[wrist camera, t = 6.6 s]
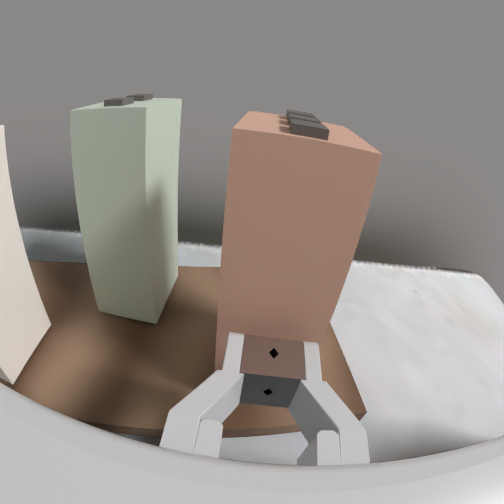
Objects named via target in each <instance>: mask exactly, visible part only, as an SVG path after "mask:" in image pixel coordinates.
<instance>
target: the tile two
mask: <svg viewBox="0 0 504 504" xmlns="http://www.w3.org/2000/svg"><path fill="white" fill-rule="evenodd" d="M152 97H153V94H136V95H129V96H127V98H113V99H108V100H104V102H103V103H99V104H94V105H90V106H86V107H82V108H78V109H74V110H71V111H70V125H71V147H72V163H73V174H74V184H75V193H76V201H77V209H78V216H79V222H80V228H81V234H82V240H83V245H84V251H85V256H86V261H87V265H88V270H89V274H90V279H91V283H92V287H93V291H94V295H95V299H96V303H97V307H98V310H99V311H100V312H104V313H109V314H113V315H117V316H121V317H126V318H130V319H135V320H140V321H144V322H149V323H154V324H157V322H158V320H159V317H160V315H161V313H162V310H163V308H164V306H165V303H166V301H167V299H168V297H169V294H170V292H171V290H172V288H173V285H174V283H175V281H176V279H177V277H178V240H177V203H178V201H177V200H178V160H179V137H180V120H181V119H180V118H181V104H182V99H170V98H152Z"/></svg>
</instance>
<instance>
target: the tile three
mask: <svg viewBox="0 0 504 504" xmlns="http://www.w3.org/2000/svg"><path fill="white" fill-rule="evenodd" d="M381 158H382V154H381V153H380V152H378V151H377V150H376V149H375V148H373V147H372V146H371V145H369V144H368V143H366V142H365V141H364V140H363V139H361V138H360V137H358V136H357V135H356V134H354V133H353V132H351V131H350V130H349V129H347V128H346V127H343V126H339V125H334V124H329V123H324V122H321V121H319V120H318V119H317V118H315V116H314V115H313V114H311V113H305V112H299V111H292V110H287V114H286V116H283V115H277V114H269V113H262V112H254V111H249V112H248V113H247V114H246V115H245V116H244V117H243V118H242V119H241V120H240V121H239V122H238V123H237V124H236V125H235V126H234V127H233V130H232V140H231V150H230V161H229V171H228V182H227V193H226V204H225V217H224V230H223V241H222V255H221V269H220V284H219V299H218V316H217V333H216V353H215V371H216V370H222V366H223V361H224V355H225V350H226V345H227V339H228V335H229V332H234V333H240V334H244V336H245V334H248V335H254V336H260V337H267V338H277V339H286V340H297V341H302V342H303V341H306V342H317V343H318V345H319V348H320V345H321V343H322V340H323V338H324V336H325V333H326V331H327V328H328V325H329V323H330V320H331V318H332V315H333V313H334V310H335V307H336V305H337V302H338V299H339V296H340V294H341V291H342V288H343V285H344V283H345V280H346V277H347V274H348V271H349V268H350V265H351V262H352V259H353V256H354V253H355V250H356V247H357V243H358V241H359V238H360V234H361V231H362V228H363V225H364V221H365V218H366V214H367V211H368V208H369V204H370V200H371V197H372V193H373V190H374V186H375V182H376V178H377V174H378V171H379V166H380V162H381Z"/></svg>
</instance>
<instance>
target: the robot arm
mask: <svg viewBox="0 0 504 504" xmlns="http://www.w3.org/2000/svg"><path fill="white" fill-rule="evenodd" d="M239 403H245V404H255V405H266V406H274V407H283V408H288V410H289V412H290V414H291V415H292V417H293V419H294V420H295V422H296V424H297V425H298V427H299V429H300V430H301V432H302V434H303V435H304V437H305V439H306V440H307V442H308V443H309V445H308V446H307V448H306V449H305V450H304V451H303V453H302V454H301V455H300V456H299V458H298V459H297V465H278V464H264V463H253V462H243V461H235V460H227V459H220V450H221V441H222V432H223V425H222V422H223V421H224V420H225V419H226V418H227V417H228V416H229V415H230V414H231V413H232V411H233V410H234V409H235V408H236V407H237V406H238V405H239ZM0 504H504V436H501V437H498V438H495V439H492V440H489V441H485V442H482V443H479V444H475V445H471V446H468V447H464V448H460V449H456V450H452V451H447V452H443V453H438V454H433V455H428V456H422V457H417V458H410V459H404V460H397V461H388V462H379V463H370V457H369V448H368V440H367V432H366V429H365V427H364V426H363V425H362V424H361V423H360V421H359V420H358V419H357V418H356V417H355V416H354V414H353V413H352V412H351V411H350V410H349V408H348V407H347V406H346V405H345V404H344V402H343V401H342V400H341V399H340V398H339V396H338V395H337V394H336V393H335V392H334V390H333V389H332V388H331V387H330V386H329V384H328V383H327V382H325V381H322V375H321V364H320V354H319V345H318V343H317V342H306V341H303V342H302V341H297V340H286V339H277V338H267V337H260V336H254V335H248V334H245V336H244V334H240V333H234V332H229V335H228V339H227V345H226V350H225V355H224V361H223V366H222V370H216V371H215V372H214V373H213V374H212V375H211V376H210V377H208V378H207V379H206V380H205V381H204V382H203V383H201V384H200V385H199V386H198V387H197V388H196V389H194V390H193V391H192V392H191V393H190V394H189V395H187V396H186V397H185V398H184V399H183V400H181V401H180V402H179V403H178V404H177V405H175V406H174V407H173V408H172V409H170V410H169V413H168V417H167V420H166V424H165V427H164V431H163V435H162V438H161V442H160V445H159V446H156V445H152V444H148V443H144V442H141V441H137V440H134V439H130V438H127V437H124V436H120V435H117V434H114V433H111V432H108V431H105V430H102V429H100V428H97V427H94V426H91V425H89V424H86V423H83V422H81V421H78V420H76V419H73V418H71V417H68V416H66V415H64V414H61V413H59V412H57V411H55V410H52V409H50V408H48V407H46V406H44V405H42V404H40V403H37V402H35V401H33V400H31V399H29V398H27V397H26V396H24V395H22V394H20V393H18V392H16V391H14V390H12V389H11V388H9V387H7V386H5V385H3V384H2V383H0Z"/></svg>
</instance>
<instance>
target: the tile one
mask: <svg viewBox="0 0 504 504" xmlns="http://www.w3.org/2000/svg"><path fill="white" fill-rule="evenodd" d="M50 326H51V323H50V320H49V318H48V315H47V313H46V310H45V308H44V305H43V303H42V300H41V297H40V294H39V292H38V289H37V286H36V283H35V280H34V277H33V274H32V271H31V268H30V265H29V261H28V258H27V255H26V251H25V248H24V244H23V240H22V236H21V232H20V228H19V224H18V220H17V215H16V211H15V206H14V202H13V196H12V190H11V184H10V178H9V172H8V164H7V157H6V146H5V135H4V125H0V378H1V379H3V380H5V381H7V382H9V383H10V384H12V385H13V384H14V382H15V381H16V379H17V377H18V376H19V374H20V372H21V371H22V369H23V367H24V366H25V364H26V362H27V361H28V359H29V358H30V356H31V354H32V353H33V351H34V350H35V348H36V347H37V345H38V344H39V342H40V341H41V339H42V338H43V336H44V335H45V333H46V332H47V330H48V329H49V327H50Z"/></svg>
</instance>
